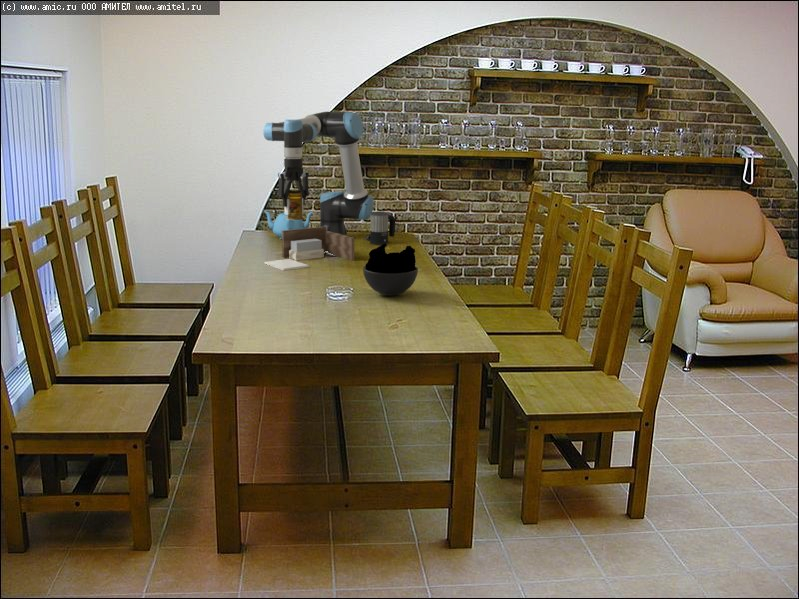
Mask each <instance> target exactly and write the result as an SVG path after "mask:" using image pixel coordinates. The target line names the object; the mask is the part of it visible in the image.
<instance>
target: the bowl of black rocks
mask: <svg viewBox="0 0 799 599" xmlns="http://www.w3.org/2000/svg"><path fill="white" fill-rule="evenodd" d="M387 246H388V244H382V245H378V246H377V247H376V248H373V249H371V250H370V251H369V253H368V255H369V256H368V260H367V262H366V263H365V265H364V266H363V268H362V273H363V276H364V279H365V280H366V283H367V284H368V285H369V287H370V288H371V289H373V291H376V292H377V293H378V294H380V295H383V296H397V295H401V294H402V293H405V292H406V291H408V290H409V289H410V288H411V287H412V286H413V285H414V283H415V281H416V280H417V277H418V272H419V269H418V268H419V267H418V266H416V261H417V260H416V254H415V253H416V250H415V248H413V247H412V246H411V245H406V248H405V249H402V250H401V251H400V252H396V251H395V252H389V253H387V252H386V247H387Z"/></svg>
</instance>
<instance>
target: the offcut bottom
mask: <svg viewBox="0 0 799 599" xmlns="http://www.w3.org/2000/svg"><path fill="white" fill-rule="evenodd" d="M324 256H325V253H324V249H320V250H311V251H301V252H295V251H292V250H289V258H288V259H290V258H291V260H293V259H294V261H297V262H298V261H306V260H312V259H320V258H324Z"/></svg>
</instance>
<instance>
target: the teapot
mask: <svg viewBox="0 0 799 599" xmlns="http://www.w3.org/2000/svg"><path fill="white" fill-rule="evenodd" d="M263 212H264V213H265V214H266V216H267V225H268V227H269V229H270V230H272V232H273V234H274V235H275V236H276V237H279V238H278V240H279V239H282V231H283V230H293V229H303V228H309V226H310V223H311V222H310V221H311V216H312V214H314V213H315V211H311V212H308V213H307V215H306V219H305V221H303V219H302V220H287V219H286V218H285V217H288V215H286V214H285V212H282V213H279V214H278V215H277V216H276V218H275V220H274V221H273V220H272V215H271V213H270V212H269V211H266V210H263Z"/></svg>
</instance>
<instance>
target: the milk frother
mask: <svg viewBox="0 0 799 599" xmlns="http://www.w3.org/2000/svg"><path fill="white" fill-rule="evenodd" d="M370 214H371V216H370V233H369V234H367V235H366V236H365V240H367V241H370V242H369V243H370V245H371V244H372V245H374V246H375V245H376V246H381V245H382V244H387V245H388V244H389V243H390V242H389V237H392V238H394V237H395V235H396V234H395V233H396V232H395V231H396V217H395V216H393V215H392V214H390V213H389V212H387V211H372V213H370Z"/></svg>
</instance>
